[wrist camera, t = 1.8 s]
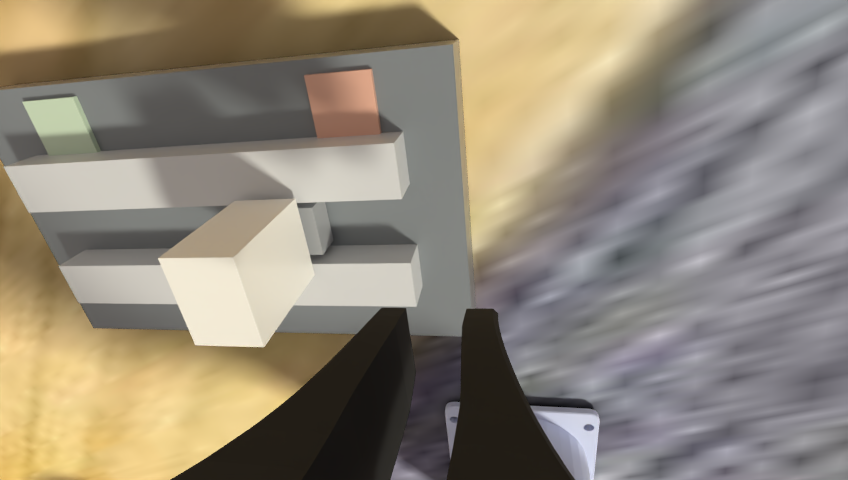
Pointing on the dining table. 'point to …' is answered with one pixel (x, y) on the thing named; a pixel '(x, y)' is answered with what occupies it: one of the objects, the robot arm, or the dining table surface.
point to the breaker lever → (246, 269)
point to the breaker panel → (266, 115)
